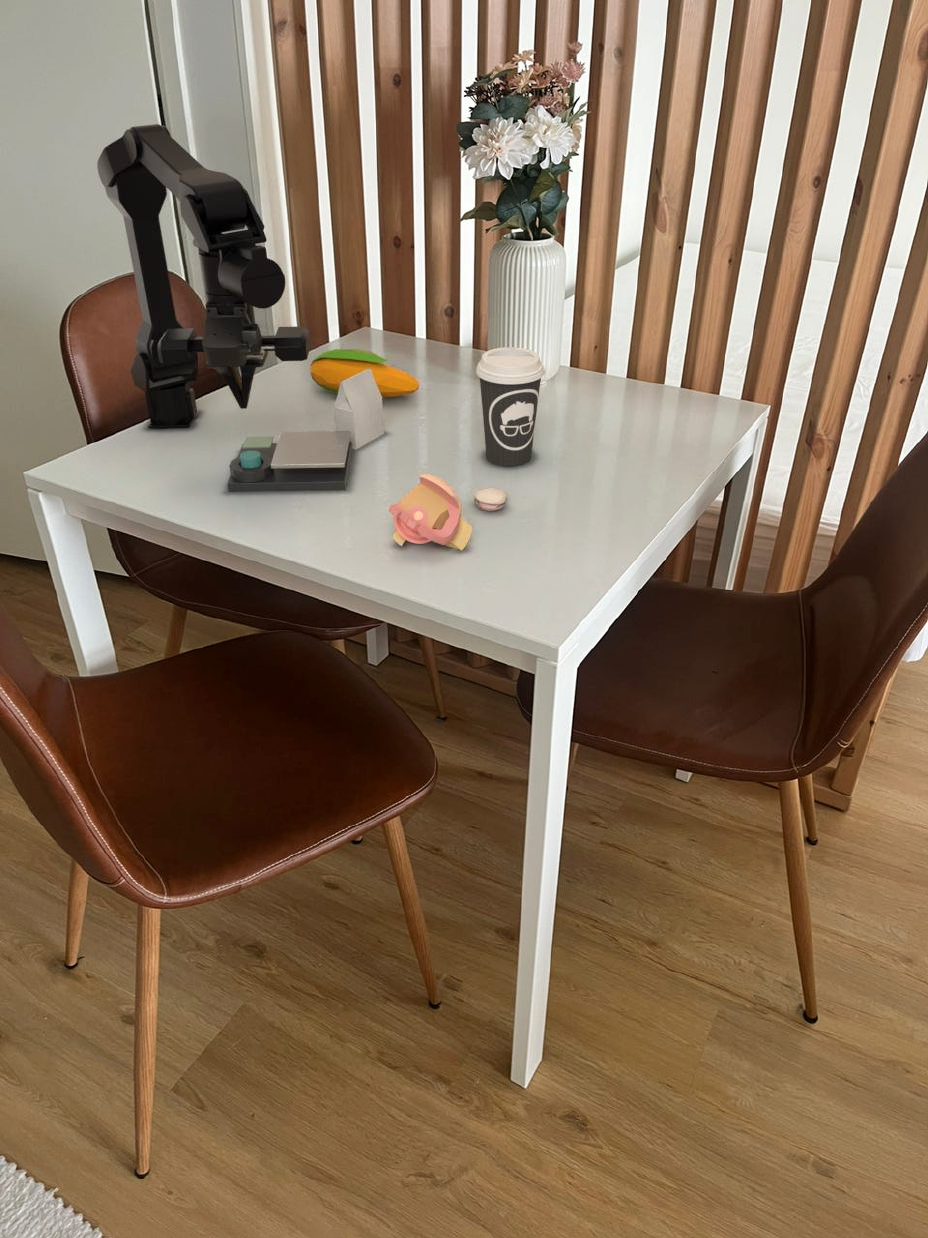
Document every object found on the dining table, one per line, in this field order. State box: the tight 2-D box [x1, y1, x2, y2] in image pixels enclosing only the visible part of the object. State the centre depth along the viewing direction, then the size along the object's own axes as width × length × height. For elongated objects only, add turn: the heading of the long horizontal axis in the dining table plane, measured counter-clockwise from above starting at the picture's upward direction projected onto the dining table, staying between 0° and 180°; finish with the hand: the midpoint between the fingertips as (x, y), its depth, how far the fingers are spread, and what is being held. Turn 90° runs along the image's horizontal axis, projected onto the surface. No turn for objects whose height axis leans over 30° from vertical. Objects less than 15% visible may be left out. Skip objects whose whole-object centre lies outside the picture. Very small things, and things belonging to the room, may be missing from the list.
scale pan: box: [271, 430, 350, 469], centre depth 141 cm, size 10×11×1 cm
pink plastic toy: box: [388, 473, 474, 552], centre depth 124 cm, size 9×10×10 cm
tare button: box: [240, 451, 262, 468], centre depth 138 cm, size 3×3×2 cm
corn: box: [309, 348, 420, 398], centre depth 164 cm, size 7×8×20 cm
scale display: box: [241, 435, 275, 448], centre depth 143 cm, size 4×4×1 cm
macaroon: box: [474, 487, 507, 512], centre depth 133 cm, size 4×5×2 cm
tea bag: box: [333, 369, 385, 450], centre depth 149 cm, size 4×7×10 cm, turn 146°
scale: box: [226, 442, 353, 493], centre depth 142 cm, size 16×13×3 cm
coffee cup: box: [475, 346, 546, 467], centre depth 142 cm, size 10×10×15 cm
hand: (244, 407), depth 134 cm, fingers closed
